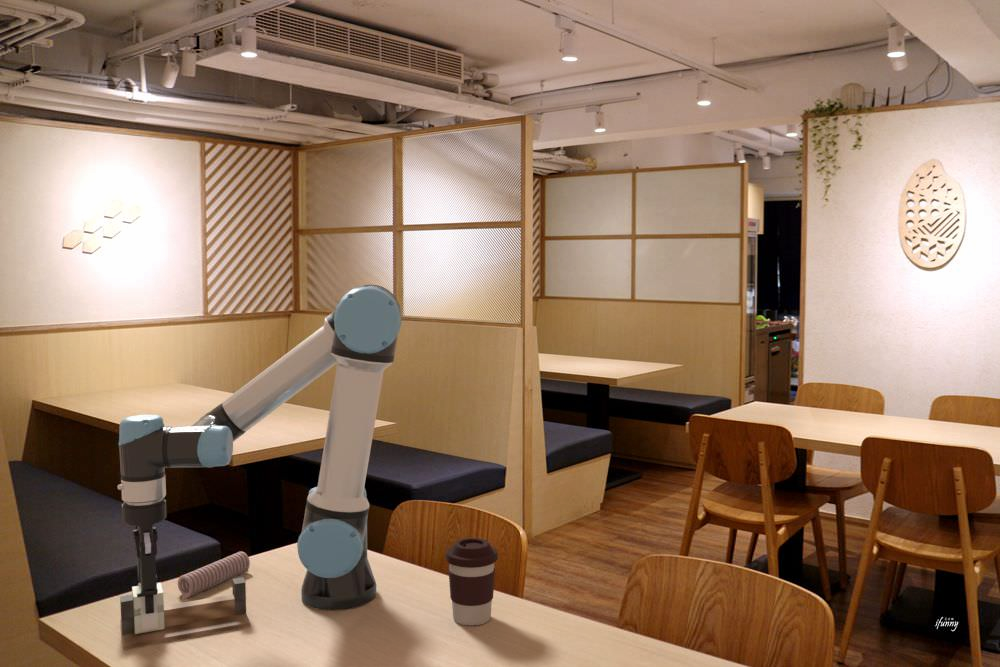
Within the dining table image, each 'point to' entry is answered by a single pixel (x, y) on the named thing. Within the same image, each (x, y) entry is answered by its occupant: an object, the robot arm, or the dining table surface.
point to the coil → (213, 574)
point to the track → (185, 631)
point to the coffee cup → (471, 580)
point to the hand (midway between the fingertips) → (148, 621)
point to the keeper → (137, 609)
